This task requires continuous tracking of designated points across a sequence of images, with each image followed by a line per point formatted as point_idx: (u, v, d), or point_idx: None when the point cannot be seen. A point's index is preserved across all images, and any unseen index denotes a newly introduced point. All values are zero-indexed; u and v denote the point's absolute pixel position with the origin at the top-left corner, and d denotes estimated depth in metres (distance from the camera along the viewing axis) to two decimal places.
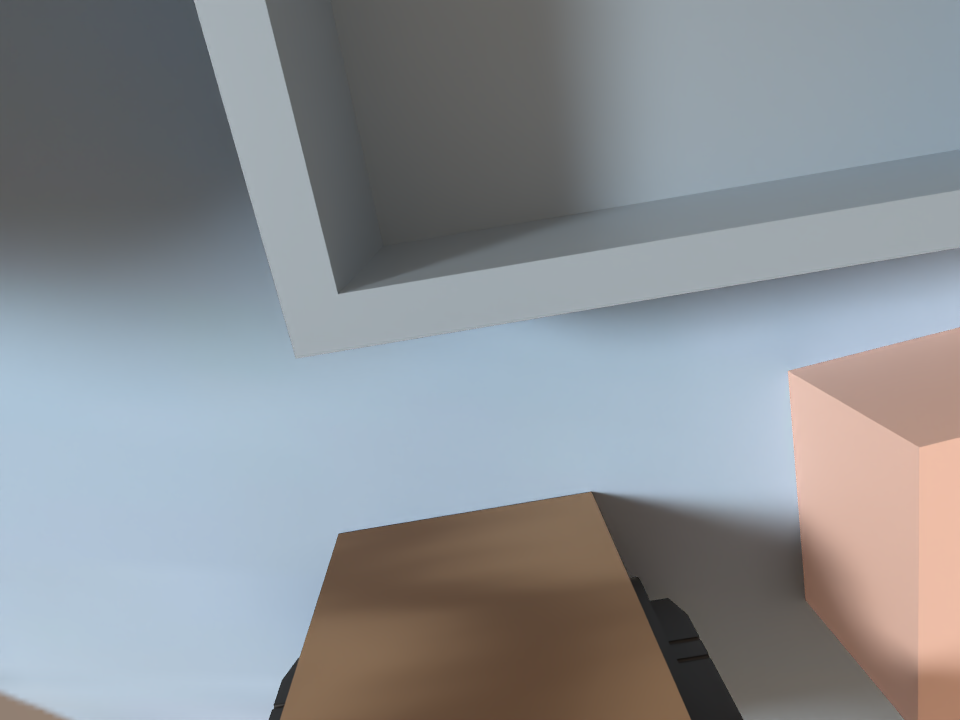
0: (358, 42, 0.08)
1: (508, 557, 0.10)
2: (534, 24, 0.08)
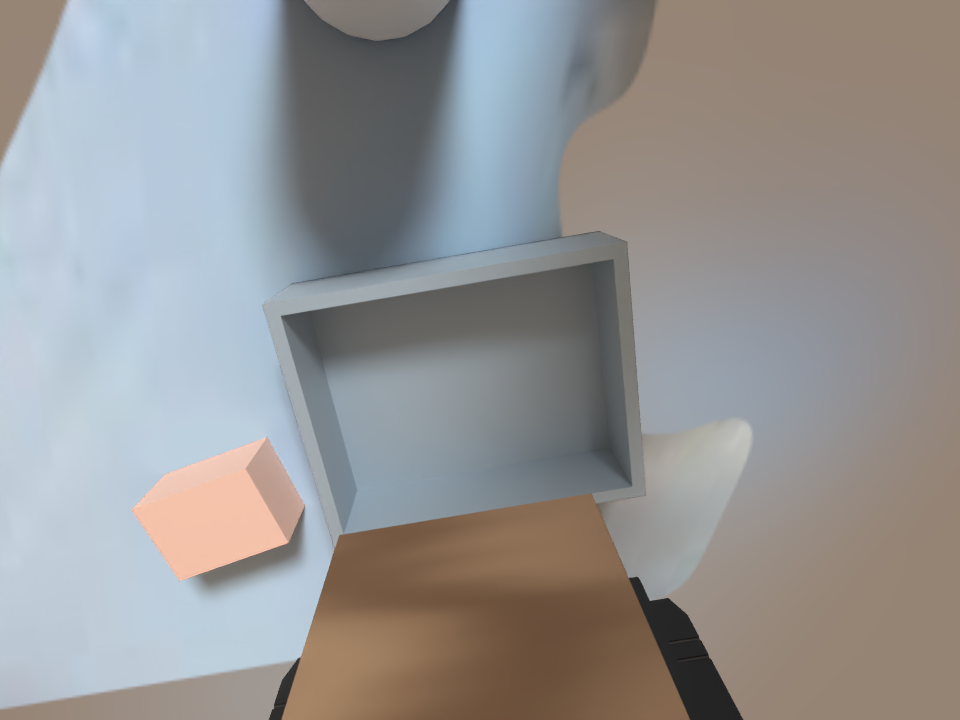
0: None
1: (508, 558, 0.10)
2: (377, 344, 0.27)
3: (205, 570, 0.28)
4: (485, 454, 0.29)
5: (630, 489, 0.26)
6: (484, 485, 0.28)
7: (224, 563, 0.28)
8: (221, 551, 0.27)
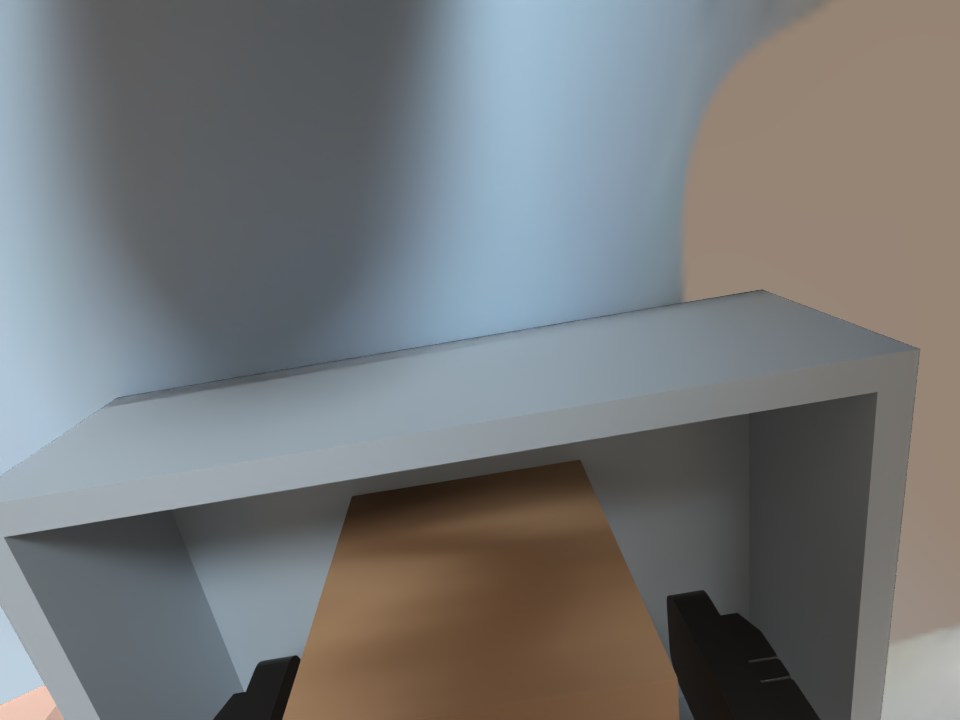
0: None
1: (504, 512, 0.12)
2: (299, 518, 0.13)
3: None
4: None
5: None
6: None
7: None
8: None
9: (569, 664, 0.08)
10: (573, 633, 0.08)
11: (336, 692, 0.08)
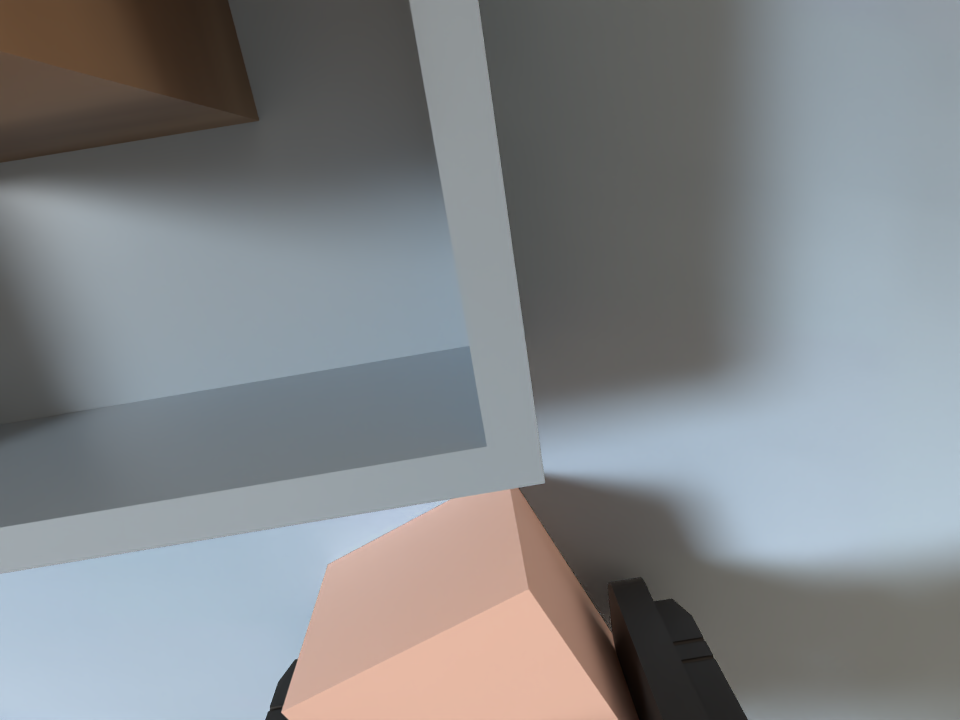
0: None
1: None
2: None
3: None
4: None
5: None
6: None
7: None
8: None
9: None
10: None
11: None
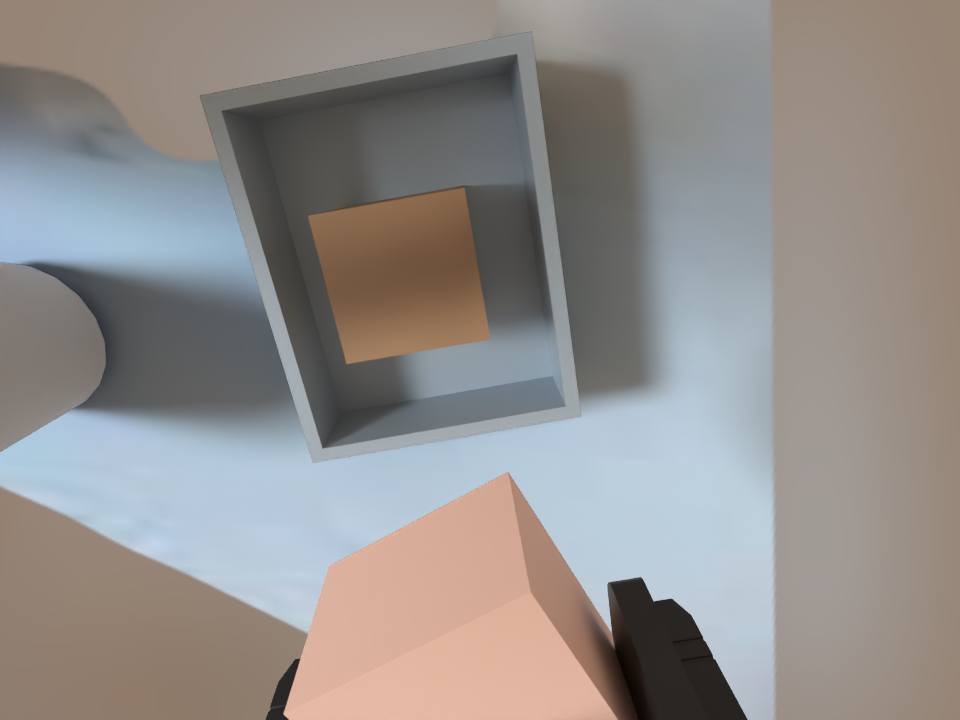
0: (331, 355, 0.27)
1: None
2: None
3: None
4: (513, 234, 0.25)
5: (521, 55, 0.20)
6: (536, 242, 0.24)
7: None
8: None
9: None
10: None
11: None
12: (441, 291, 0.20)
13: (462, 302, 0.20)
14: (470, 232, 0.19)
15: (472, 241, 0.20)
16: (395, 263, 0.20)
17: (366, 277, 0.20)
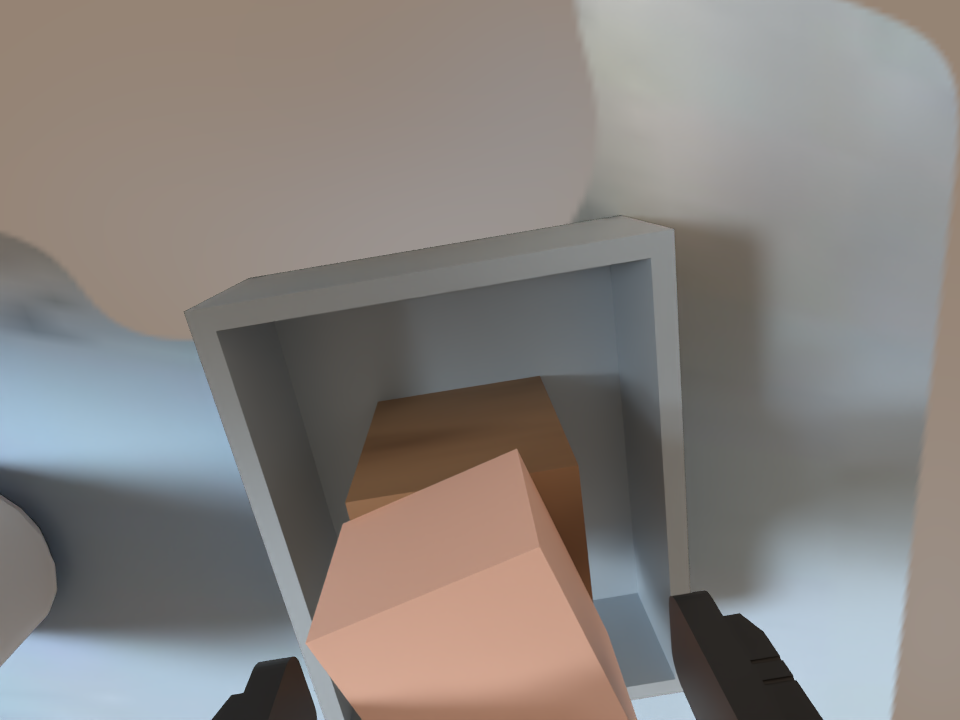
0: None
1: None
2: None
3: None
4: (600, 433, 0.19)
5: (657, 260, 0.14)
6: (639, 460, 0.18)
7: (606, 685, 0.10)
8: (567, 692, 0.10)
9: None
10: None
11: None
12: None
13: None
14: (582, 520, 0.13)
15: (583, 530, 0.13)
16: None
17: None
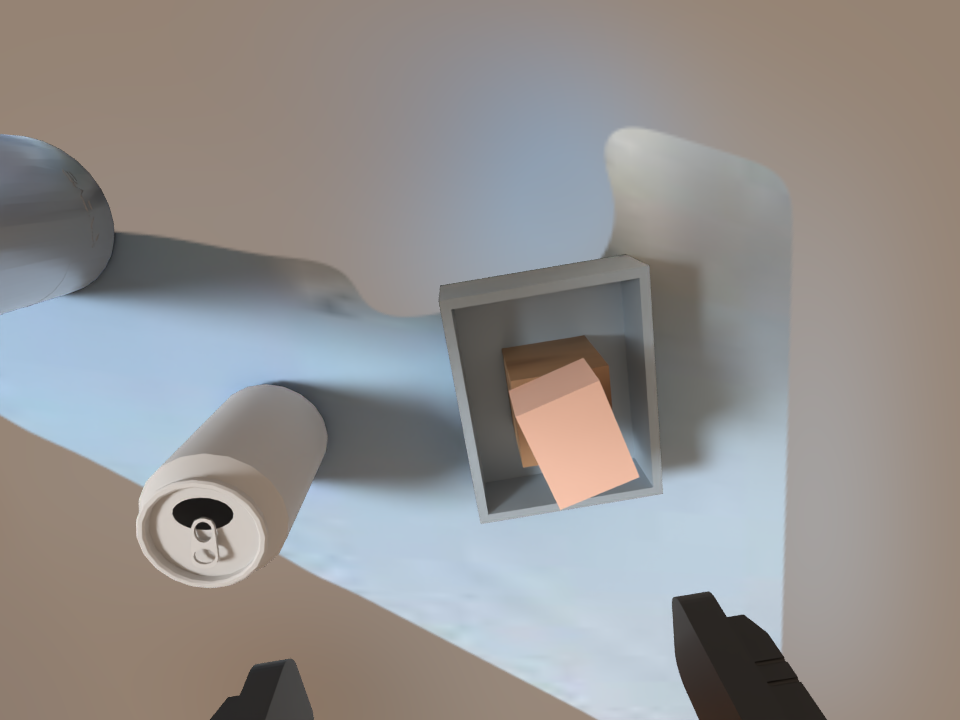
0: (482, 444, 0.38)
1: None
2: None
3: (628, 455, 0.28)
4: (614, 366, 0.37)
5: (642, 278, 0.31)
6: (635, 377, 0.36)
7: (621, 438, 0.28)
8: (607, 440, 0.28)
9: None
10: None
11: (520, 451, 0.33)
12: None
13: None
14: (609, 390, 0.31)
15: (610, 395, 0.31)
16: None
17: None
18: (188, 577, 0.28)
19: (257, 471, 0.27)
